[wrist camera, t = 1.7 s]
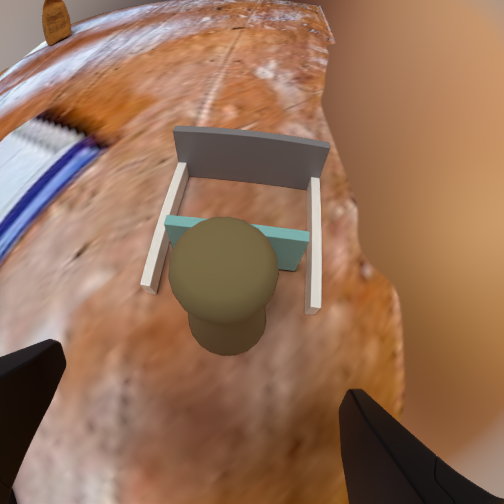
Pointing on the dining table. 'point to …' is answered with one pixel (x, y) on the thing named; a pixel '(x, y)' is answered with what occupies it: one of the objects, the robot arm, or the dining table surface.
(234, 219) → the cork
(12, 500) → the wall clock
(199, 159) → the pusher lane
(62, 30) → the coffee package
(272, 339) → the dining table surface
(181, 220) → the pusher paddle
